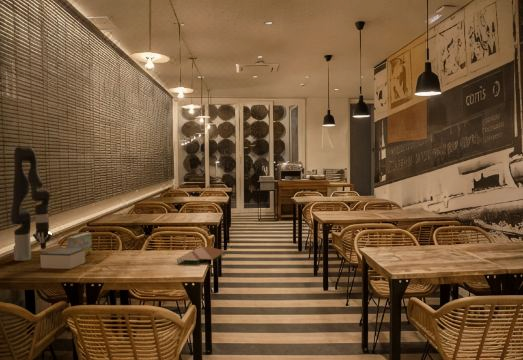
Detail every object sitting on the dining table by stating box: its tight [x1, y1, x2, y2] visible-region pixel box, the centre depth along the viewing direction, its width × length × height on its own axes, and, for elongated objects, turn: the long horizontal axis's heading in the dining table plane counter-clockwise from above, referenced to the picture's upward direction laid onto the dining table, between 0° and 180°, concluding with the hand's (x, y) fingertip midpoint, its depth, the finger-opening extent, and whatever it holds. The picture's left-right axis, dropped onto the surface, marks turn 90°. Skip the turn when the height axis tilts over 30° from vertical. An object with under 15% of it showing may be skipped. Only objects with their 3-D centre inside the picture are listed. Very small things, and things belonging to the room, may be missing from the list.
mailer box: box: [39, 250, 86, 270], centre depth 291 cm, size 20×16×8 cm
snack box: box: [66, 232, 93, 257], centre depth 315 cm, size 21×6×15 cm, turn 168°
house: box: [175, 246, 227, 265], centre depth 301 cm, size 23×33×8 cm
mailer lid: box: [39, 243, 85, 255], centre depth 290 cm, size 20×16×4 cm
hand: (43, 248), depth 293 cm, fingers closed
